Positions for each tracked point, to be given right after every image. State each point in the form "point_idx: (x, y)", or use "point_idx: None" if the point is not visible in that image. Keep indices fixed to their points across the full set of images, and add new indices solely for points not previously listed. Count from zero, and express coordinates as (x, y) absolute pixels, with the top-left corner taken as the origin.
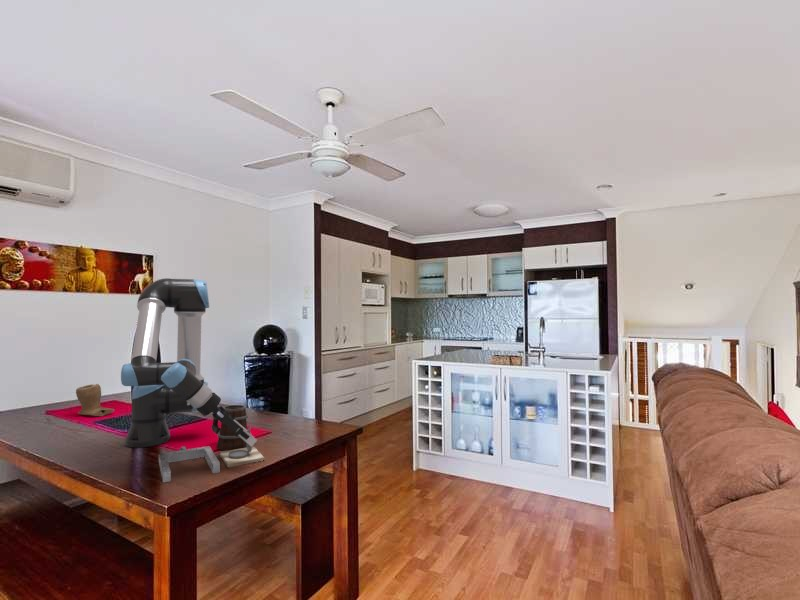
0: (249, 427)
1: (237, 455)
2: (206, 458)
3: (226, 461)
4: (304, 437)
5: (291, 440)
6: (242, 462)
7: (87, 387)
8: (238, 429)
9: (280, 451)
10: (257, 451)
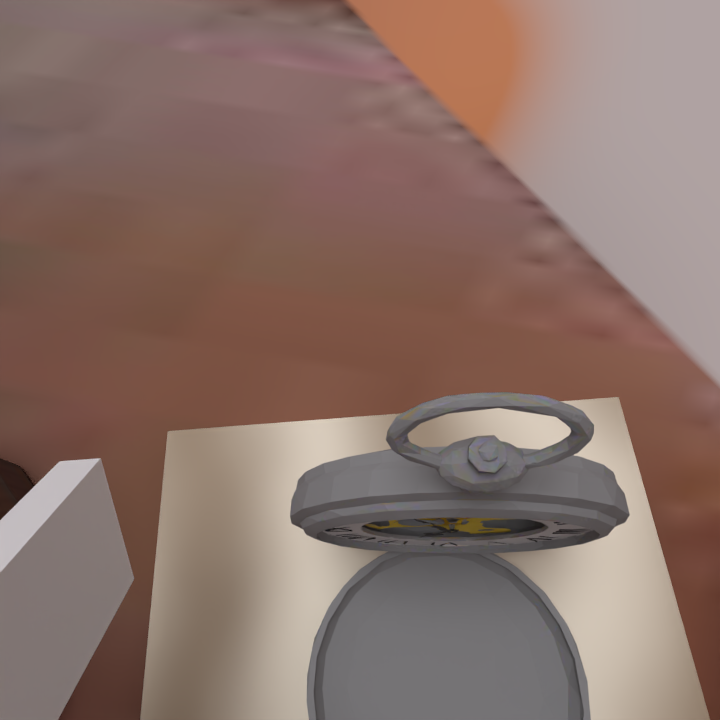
0: (402, 431)
1: (452, 701)
2: None
3: None
4: (116, 37)
5: (125, 118)
6: (688, 667)
7: None
8: (33, 676)
9: (373, 235)
10: (374, 427)
